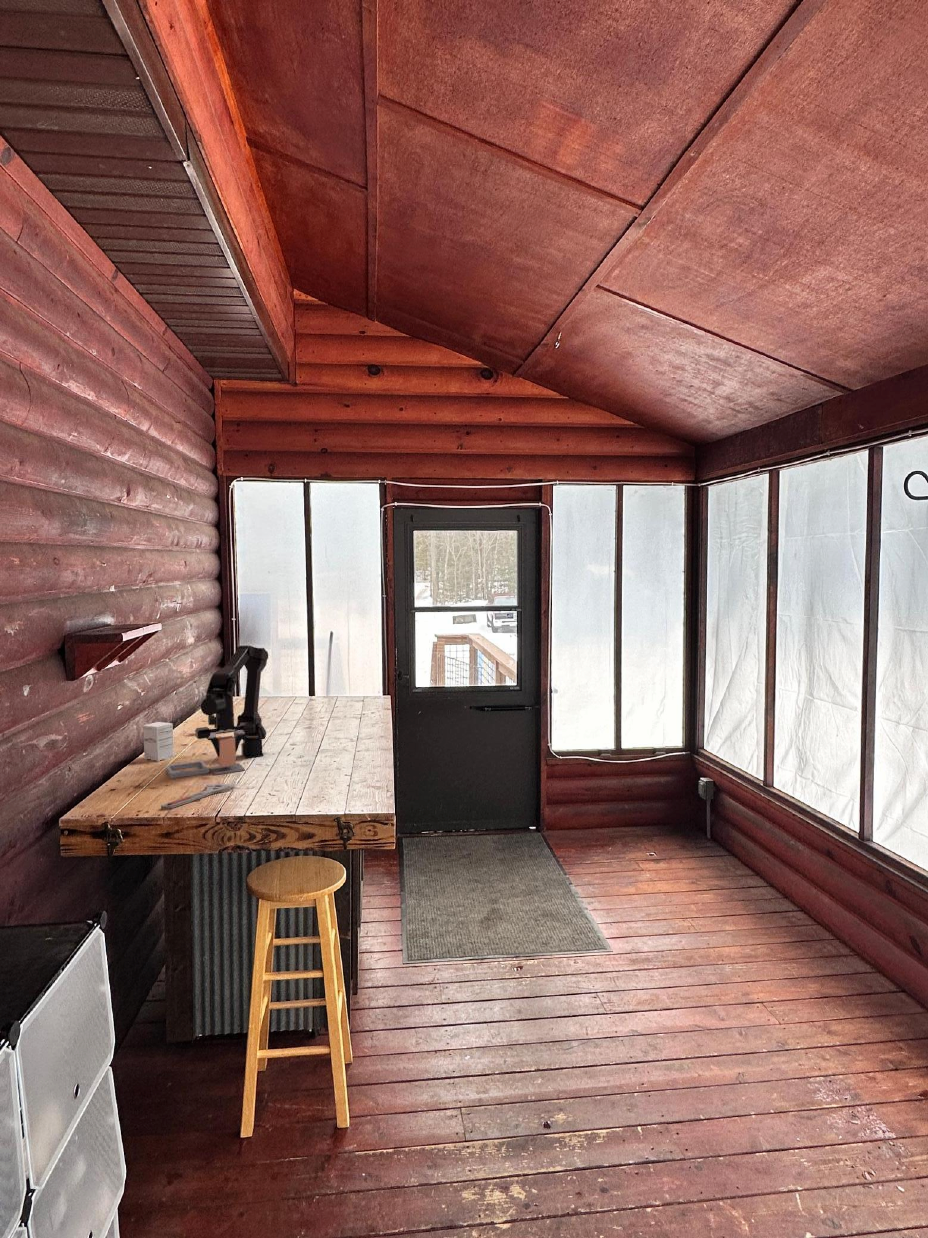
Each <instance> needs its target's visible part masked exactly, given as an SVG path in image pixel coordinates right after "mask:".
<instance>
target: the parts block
mask: <svg viewBox="0 0 928 1238" xmlns="http://www.w3.org/2000/svg"><path fill="white" fill-rule="evenodd" d="M216 737H217V736H216ZM217 738H218V746H219V757H218V756H217V764H218V766H220V767H225V766H232V765H236V764H237V756H236V755H237V752H236V749H235V738H234V735H228V736H227V735H226V736H220V737H219V736H218V737H217Z"/></svg>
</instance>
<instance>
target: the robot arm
mask: <svg viewBox="0 0 928 1238" xmlns="http://www.w3.org/2000/svg"><path fill="white" fill-rule="evenodd" d="M268 659H269V652H268V651H267V650H266V649H265V648H264V647H255V646H253V645H249V644H248V645H247V644H246V645H239V646H237V648H236V651H235V652H234V654H232V656H231V657H230V659H229V661H228V662H227V663H226V664H225V666H223V667H222V668H219V669H217V670H216V671H215V672H213V674H211V675H212V676H211V677H210V680H209V683H208V686H207V689H206V693H205V694H206V695H205V698H204V699H203V700H202V701H201V703H200V710H201V712H202V714H204V715H206V716H207V717H208V718H207V723H208V726H214V728H209V727H208V726H202V727H197V728H195V730H194V733H195V734H194V735H195V737H196V739H197V740H203V739H204V740H205V739H206V740H207V741H210V742H211V743H212V746H213V748H214V751H215V753H216V756H217V758H218V757H219V746H218V738H217V735H219V734H227V733H233V737H234V738H235V749H236V753H237V752H238V750H239V749H238V748H239V746H241V747H240V748H241V755H242V756H243V757H244V758H245V759H250V758H257V757H263V756H265V754H264V753H263V740H265V739H266V737H267V731H266V729H265V728H264V726H263V724H262V721H263V720H262V717H261V715H260V713H259V711H258V710H259V700H260V699H259V698H260V689H261V680H262V679H261V676H262V672H263V671H264V669H265V668H266V666H267V662H268ZM243 667H244V668H245V669H246V683H245V693H244V704H243V705H244V706H243V711H242V712H241V714H239V715H237V721H236V722H237V723H236V725H235V714H234V713H235V712H234V695H235V694H236V692H235V691H234V689H235V687H236V685H237V683H238V678H237V677H238V674H239V673H240V671H241V670H242V668H243ZM241 741H242V743H241ZM240 743H241V744H240Z"/></svg>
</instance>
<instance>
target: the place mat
mask: <svg viewBox="0 0 928 1238" xmlns="http://www.w3.org/2000/svg"><path fill="white" fill-rule="evenodd" d="M208 770H210V772H211V773H212V775H214V776H219V775H226V774H233V773H240V772H246V769H245V768H244V766H243V765H242V764H241V763H239V762H236V765H232V766H225V767H220V766H219V765H218V766H217V765H215V766H210V767H208Z"/></svg>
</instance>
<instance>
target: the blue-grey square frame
mask: <svg viewBox="0 0 928 1238" xmlns="http://www.w3.org/2000/svg"><path fill="white" fill-rule="evenodd" d="M197 767H200V768H198V769H191V768H197ZM183 769H190V770H184V771H177V772H173V771H176V770H183ZM166 771H167V774H168V775H169V777H170V779H177V778H185V777H190V776H198V775H203V774H209V767H208V766H207V764H205V763H204V761H203V760H199V761H193V762H184V763H178V764H170V765H166Z"/></svg>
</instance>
